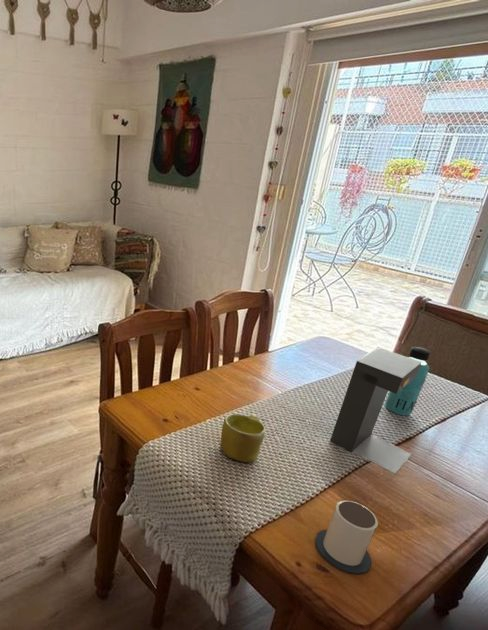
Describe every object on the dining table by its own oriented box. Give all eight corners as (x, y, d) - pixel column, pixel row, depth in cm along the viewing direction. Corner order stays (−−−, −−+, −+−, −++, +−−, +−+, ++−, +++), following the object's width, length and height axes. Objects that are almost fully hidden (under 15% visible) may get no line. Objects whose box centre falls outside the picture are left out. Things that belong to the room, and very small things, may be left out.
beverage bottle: (387, 417, 120) (413, 353, 112) (378, 404, 126) (401, 342, 118) (414, 422, 118) (442, 357, 110) (404, 407, 124) (429, 345, 116)
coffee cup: (371, 563, 79) (387, 527, 75) (339, 567, 78) (354, 531, 74) (345, 533, 85) (359, 497, 81) (315, 537, 84) (328, 501, 80)
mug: (249, 470, 97) (250, 426, 97) (210, 456, 106) (211, 415, 105) (279, 459, 104) (280, 417, 104) (240, 446, 113) (241, 408, 112)
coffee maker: (411, 457, 106) (449, 371, 96) (392, 478, 99) (431, 389, 89) (349, 427, 116) (377, 346, 106) (328, 444, 109) (356, 360, 99)
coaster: (382, 571, 78) (383, 569, 78) (337, 577, 77) (338, 575, 76) (345, 528, 86) (346, 526, 86) (304, 533, 85) (305, 532, 85)
